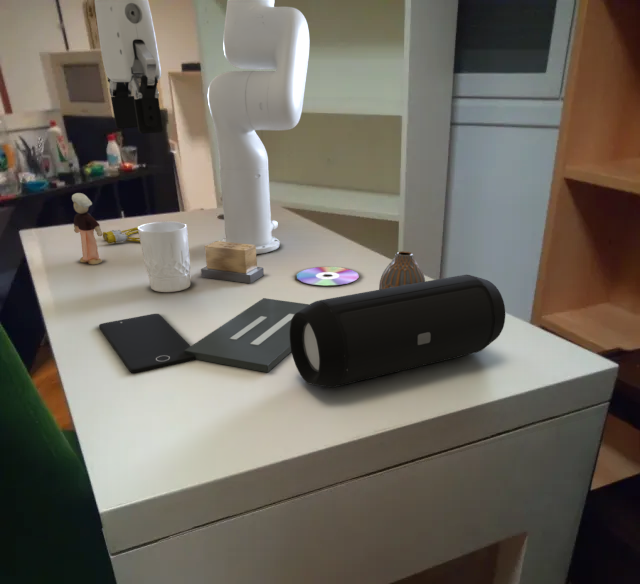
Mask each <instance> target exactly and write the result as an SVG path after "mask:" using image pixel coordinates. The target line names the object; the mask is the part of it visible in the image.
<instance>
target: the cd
mask: <svg viewBox="0 0 640 584" xmlns="http://www.w3.org/2000/svg"><path fill="white" fill-rule="evenodd" d="M326 275H329V276H326ZM359 277H360V275H359V273H358V272H357V271H355V270H352V269H350V268H345V267H340V266H339V267H338V266H317V267H311V268H306V269H304V270H301V271H299V272H298V273H297V274H296V279H297V280H298V281H300V282H302V283H303V284H307V285H312V286H322V287H330V286H331V287H332V286H342V285H346V284H351V283H353V282H355V281H357V280H358V279H359Z"/></svg>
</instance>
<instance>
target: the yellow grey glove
mask: <svg viewBox="0 0 640 584" xmlns="http://www.w3.org/2000/svg"><path fill="white" fill-rule="evenodd" d="M138 227H139V226H136V227H132V228H128V229H123V230H120V229H112V230H108V231H102V233H103V235H102V238H103V239H104V241H106V242H107V244H119V243H122V242H125V241H127V242H133V243H141V242H140V237H135V236H133V237H131V236H130V235H133V234H137V233H138ZM138 234H139V233H138Z"/></svg>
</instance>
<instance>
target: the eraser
mask: <svg viewBox="0 0 640 584" xmlns="http://www.w3.org/2000/svg"><path fill="white" fill-rule="evenodd" d="M204 252H205V262H206V266H204V267H202V268H200V274H201V278H206V279H212V280H213V279H214V280H221V281H228V282H229V281H230V282H237V283H244V284H252V283H254V282H255V281H257V280H259V279H260V278H262V277H264V275H265V273H264V267H262V266H258V262H257V254H256V245H251V244H241V243H232V242H222V241H221V240H215V241H212V242H211V243H208V244H206V245H204Z"/></svg>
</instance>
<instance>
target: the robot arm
mask: <svg viewBox="0 0 640 584" xmlns="http://www.w3.org/2000/svg"><path fill="white" fill-rule="evenodd" d="M94 9H95V16H96V23H97V24H96V25H97V33H98V39H99V40H98V41H99V46H100V53H101V59H102V64H103V68H104V72H105V75H106V77H107V82H108V83H109V87H108V88H109V94H110V99H111V106H112V112H113V117H114V123H115V127H116V128H117V129H133V128H137V131H138V133H139V134H155V133H157V134H158V133H162V132H163V123H162V122H163V121H162V113H161V107H160V100H159V99H160V95H159V93H160V92H159V89H158V83H159V81H160V80H161V78H162V68H161V61H160V55H159V48H158V42H157V37H156V31H155V26H154V20H153V15H152V11H151V7H150V2H149V0H94ZM225 9H226V11H225V19H224V28H223V38H222V40H223V41H222V42H223V43H222V47H223V54H224V57H225V59H226V61H227V62H228V63H229V64H230V66H233V67H235V68H237V69H241V70H230V71H229V70H228V71H225V72H221V73H218V74H217V75H216V76H214V77H213V78H212V80H211V81H210V83H209V86H208V88H207V102H208V103H207V104H208V108H209V112H210V116H211V119H212V125H213V128H214V132H215V133H214V134H215V139H216V146H217V155H218V166H219V178H220V189H221V199H222V210H223V211H222V212H223V213H222V214H223V221H224V235H225V238H222V239H220V241H222V242H232V243H241V244H251V245H256V255H260V254H265V253H269V252H273V251H275V250H277V249H279V247H280V240H279V239H278V238H277V237H275V236H272V235H273V234H272V233H273V231H274V230H276V229H277V228H278V227H279V224H278V223H279V222H278V221H276V219H272V213H271V194H270V175H269V173H270V172H269V156H268V152H267V149H266V147H265V145H264V143H263V141H262V140H261V138H260V136H259V135H258V134H257V131H289V130H292V129H294V128H295V127H296V126H297V125H298V124H299V122H300V120H301V116H302V113H303V112H302V111H303V106H304V99H305V98H304V97H305V92H306V91H305V90H306V82H307V74H308V66H309V65H308V64H309V60H310V59H309V58H310V48H311V47H310V45H311V44H310V42H311V41H310V40H311V39H310V31H309V25H308V21H307V19H306V17H305V15H304V14H303V12H301V10H299V9H298V8H296V7H292V6H275V0H227V1H226V8H225ZM132 90H133V93H134V95H135V96H134V95H132Z"/></svg>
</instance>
